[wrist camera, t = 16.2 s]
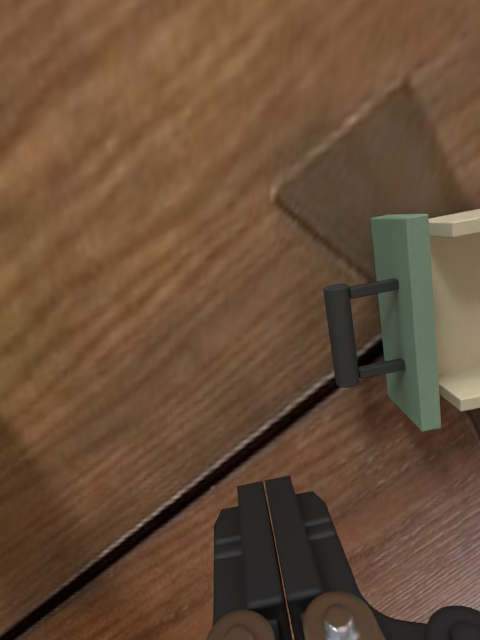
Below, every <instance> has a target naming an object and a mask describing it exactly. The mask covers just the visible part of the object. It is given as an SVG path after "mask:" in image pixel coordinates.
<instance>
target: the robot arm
mask: <svg viewBox="0 0 480 640" xmlns="http://www.w3.org/2000/svg"><path fill="white" fill-rule="evenodd" d="M265 485H266V490H267V496H268V501H269V507H270V512H271V517H272V523H273V528H274V534H275V539H276V545H277V550H278V555H279V561H280V566H281V572H282V577H283V582H284V588H285V593H286V599H287V604H288V609H289V614H290V618H291V623H292V628H293V633H294V638H295V640H480V611H478V610H475V609H472V608H469V607H464V606H447V607H444V608H441V609H439V610H437V611H436V612H435V613H434V614H433V615H432V616H431V617H430V619H429V621H428V623H427V624H423V623H416V622H409V621H402V620H397V619H393V618H391V617H388V616H386V615H384V614H382V613H380V612H378V611H377V610H375V609H374V608H373V607H372V606H371V605H369V604H368V602H367V601H366V600H365V599H364V598H363V596H362V595H361V593H360V591H359V589H358V587H357V584H356V582H355V579H354V576H353V574H352V571H351V569H350V566H349V563H348V561H347V558H346V556H345V553H344V550H343V548H342V545H341V543H340V540H339V537H338V535H337V532H336V530H335V527H334V524H333V522H332V520H331V517H330V514H329V511H328V509H327V506H326V504H325V502H324V501H323V500H322V499H321V498H319V497H318V496H317V495H316V494H315V493H314V492H313V491H311V492H306V493H301V494H296V495H295V492H294V489H293V485H292V482H291V478H290V476H285V477H280V478H275V479H270V480H265ZM237 490H238V503H239V506H237V507H232V508H227V509H222V510H221V512H220V514H219V517H218V519H217V521H216V523H215V525H214V611H213V625H212V629H211V630H210V632H209V634H208V636H207V638H206V640H292V635H291V629H290V624H289V618H288V612H287V607H286V601H285V596H284V590H283V585H282V579H281V574H280V568H279V563H278V557H277V552H276V546H275V541H274V536H273V531H272V525H271V521H270V516H269V511H268V506H267V501H266V496H265V491H264V486H263V481H261V482H256V483H251V484H246V485H241V486H237Z"/></svg>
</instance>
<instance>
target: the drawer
mask: <svg viewBox="0 0 480 640" xmlns="http://www.w3.org/2000/svg"><path fill="white" fill-rule="evenodd" d="M371 229H372V239H373V249H374V259H375V270H376V280H377V281H376V282H371V283H366V284H361V285H356V286H351V287H349V286H348V285H346V284H336V285H331V286H327V287H325V288H324V289H323V291H324V298H325V305H326V313H327V320H328V328H329V335H330V343H331V350H332V357H333V365H334V372H335V380H336V384H337V385H338V386H339V387H344V388H349V387H354V386H356V385H358V384H359V382H360V380H359V378H360V379H363V378H368V377H373V376H378V375H383V374H386V381H387V392H388V397H389V398H390V399H391V400H392V401H393V402H394V403H395V404H396V405H397V406H398V407H399V408H400V409H401V410H402V411H403V412H404V413H405V415H406V416H407V417H408V418H409V419H410V420H411V421H412V422H413V423H414V424H415V425H416V426H417V427H418V428H419V429H420V430H421V431H423V432H424V431H429V430H434V429H439V428H441V415H440V399H439V394H440V395H441V396H442V397H443V398H445V399H446V400H447V401H449V402H450V403H451V404H452V405H454V406H455V407H456V408H457V409H459V410H460V411H466V410H471V409H476V408H480V209H476V210H471V211H466V212H461V213H456V214H451V215H445V216H440V217H435V218H430V219H428V214H400V215H384V216H379V217H374V218H371ZM373 294H378V300H379V310H380V320H381V331H382V341H383V351H384V362H379V363H374V364H369V365H364V366H359V367H358V363H357V354H356V346H355V337H354V329H353V320H352V312H351V303H350V298H351V299H353V298H358V297H363V296H368V295H373Z"/></svg>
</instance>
